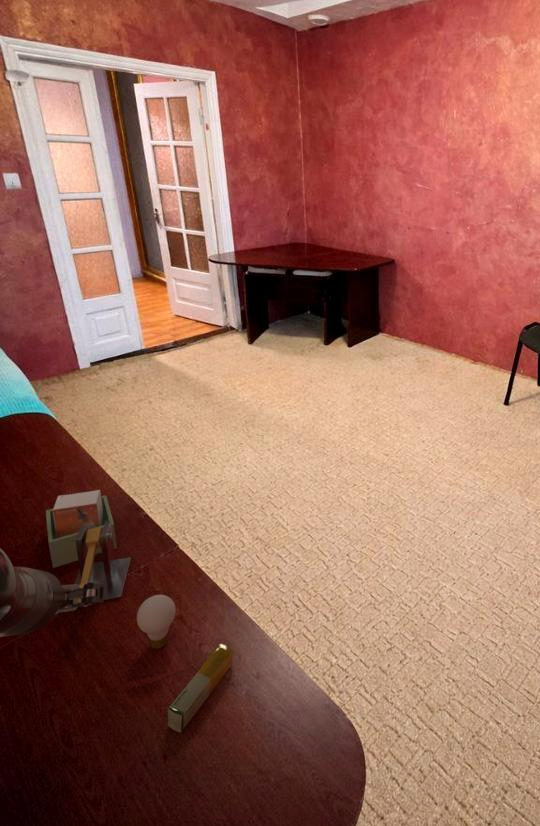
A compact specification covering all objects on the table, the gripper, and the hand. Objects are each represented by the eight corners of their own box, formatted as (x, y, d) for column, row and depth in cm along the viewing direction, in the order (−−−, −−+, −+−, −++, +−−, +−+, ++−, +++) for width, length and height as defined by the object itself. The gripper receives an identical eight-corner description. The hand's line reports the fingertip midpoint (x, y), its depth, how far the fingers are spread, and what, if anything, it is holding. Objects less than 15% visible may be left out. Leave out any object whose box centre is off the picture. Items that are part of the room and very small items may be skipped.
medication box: (181, 735, 70) (181, 717, 69) (166, 726, 71) (165, 708, 70) (233, 664, 81) (234, 647, 80) (219, 657, 82) (220, 640, 80)
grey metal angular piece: (121, 601, 92) (114, 545, 88) (66, 610, 89) (56, 554, 85) (131, 561, 102) (125, 510, 98) (82, 569, 99) (74, 516, 95)
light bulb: (154, 667, 80) (148, 620, 77) (133, 649, 83) (127, 603, 80) (185, 642, 85) (181, 597, 82) (164, 625, 87) (160, 581, 84)
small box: (58, 552, 102) (51, 510, 98) (63, 535, 106) (57, 495, 103) (102, 544, 105) (96, 503, 102) (105, 528, 110) (100, 488, 106)
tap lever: (94, 607, 84) (90, 597, 82) (70, 612, 83) (65, 601, 81) (108, 535, 95) (104, 525, 92) (87, 538, 93) (83, 528, 91)
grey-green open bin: (50, 536, 107) (45, 510, 105) (109, 519, 114) (106, 495, 112) (53, 570, 98) (48, 542, 96) (117, 550, 105) (114, 524, 102)
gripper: (-65, 649, 55) (-3, 641, 69) (79, 623, 60) (110, 621, 74) (-51, 578, 58) (5, 585, 72) (85, 559, 63) (113, 568, 77)
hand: (58, 603), depth 73 cm, fingers open, 8 cm apart
